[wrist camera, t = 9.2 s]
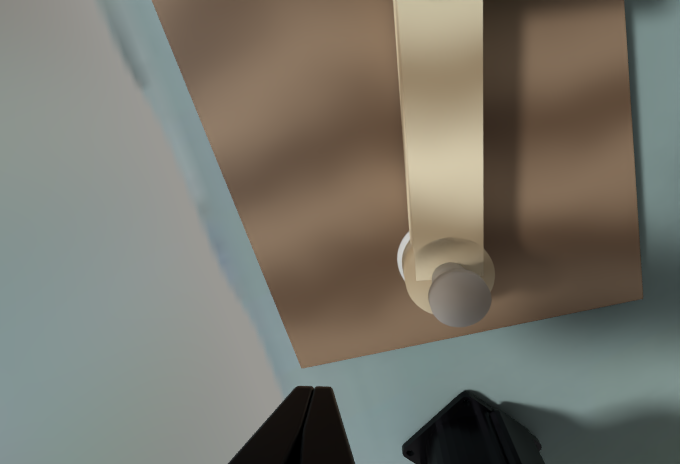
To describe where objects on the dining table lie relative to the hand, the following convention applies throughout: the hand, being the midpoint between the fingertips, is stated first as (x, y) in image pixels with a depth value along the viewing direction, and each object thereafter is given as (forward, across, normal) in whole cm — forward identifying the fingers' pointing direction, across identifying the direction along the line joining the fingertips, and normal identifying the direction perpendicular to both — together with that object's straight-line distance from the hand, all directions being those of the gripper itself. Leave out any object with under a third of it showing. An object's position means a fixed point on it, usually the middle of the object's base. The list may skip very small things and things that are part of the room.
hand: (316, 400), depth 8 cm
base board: (+12, -3, -5) cm, 13 cm away
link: (+11, -4, -7) cm, 13 cm away
